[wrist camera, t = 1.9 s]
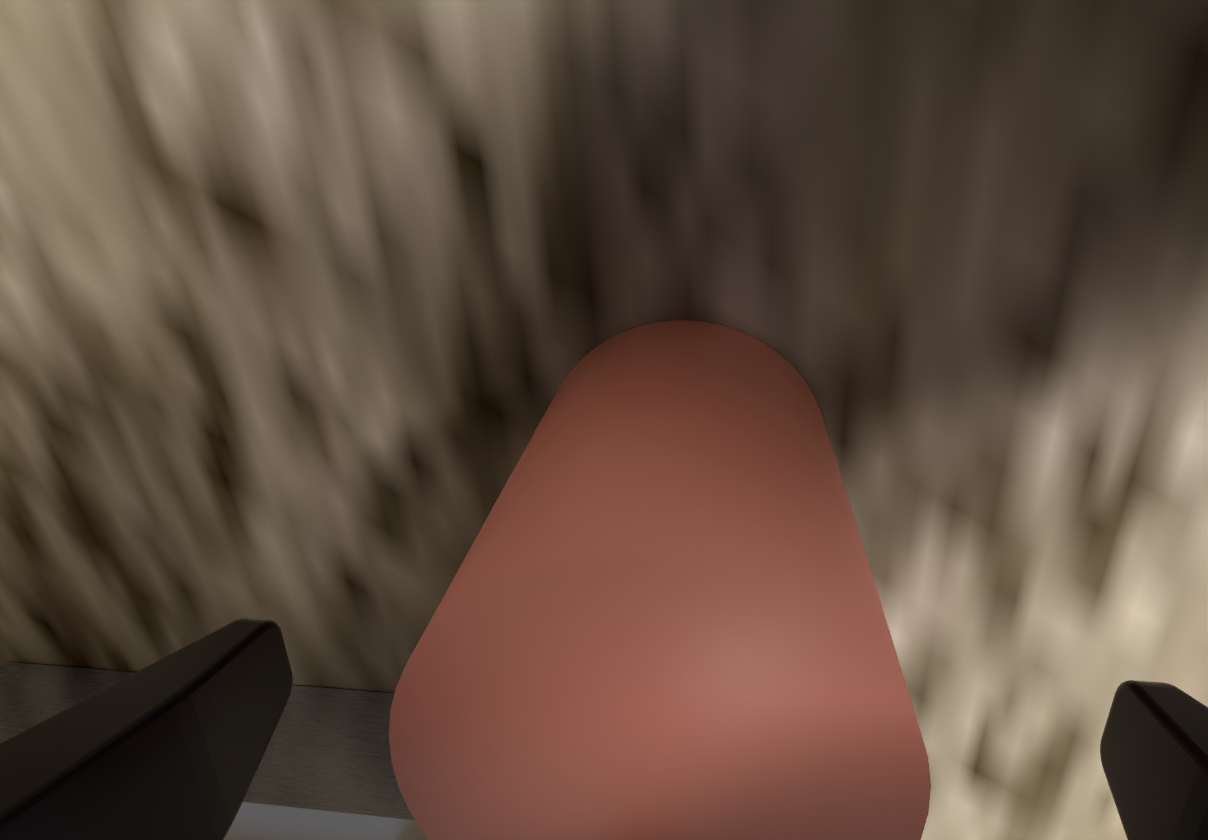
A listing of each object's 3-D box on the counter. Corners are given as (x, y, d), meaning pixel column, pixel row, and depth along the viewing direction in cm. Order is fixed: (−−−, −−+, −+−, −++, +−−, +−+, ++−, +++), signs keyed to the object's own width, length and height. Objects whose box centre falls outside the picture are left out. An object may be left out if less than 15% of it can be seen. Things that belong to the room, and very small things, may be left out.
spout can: (840, 321, 12) (1059, 743, 4) (816, 582, 14) (935, 1199, 6) (534, 319, 13) (240, 675, 5) (552, 567, 15) (360, 1103, 7)
